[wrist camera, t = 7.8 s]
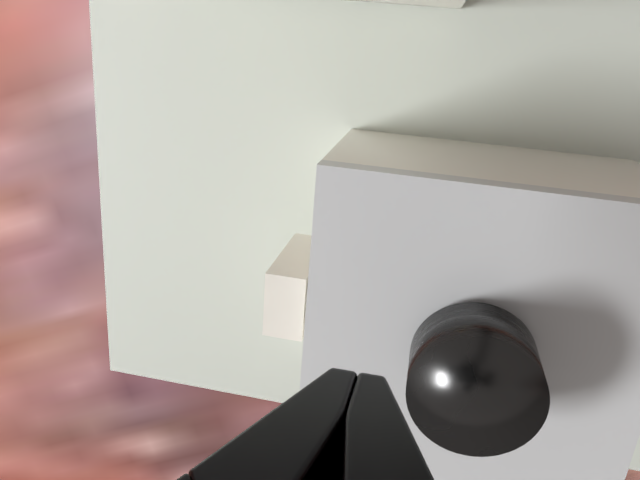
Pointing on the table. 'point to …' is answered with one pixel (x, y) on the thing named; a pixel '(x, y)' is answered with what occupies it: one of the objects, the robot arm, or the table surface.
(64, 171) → the table surface
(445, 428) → the plunger
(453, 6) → the white square box
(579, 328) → the white square block
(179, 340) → the board
